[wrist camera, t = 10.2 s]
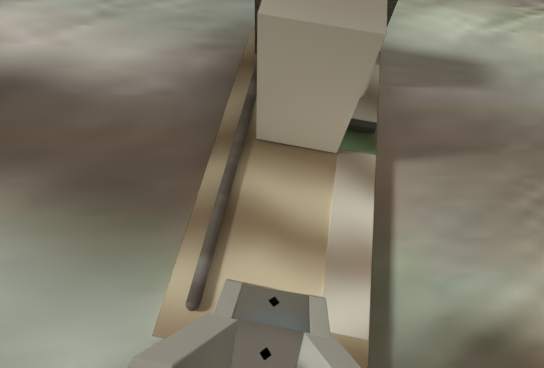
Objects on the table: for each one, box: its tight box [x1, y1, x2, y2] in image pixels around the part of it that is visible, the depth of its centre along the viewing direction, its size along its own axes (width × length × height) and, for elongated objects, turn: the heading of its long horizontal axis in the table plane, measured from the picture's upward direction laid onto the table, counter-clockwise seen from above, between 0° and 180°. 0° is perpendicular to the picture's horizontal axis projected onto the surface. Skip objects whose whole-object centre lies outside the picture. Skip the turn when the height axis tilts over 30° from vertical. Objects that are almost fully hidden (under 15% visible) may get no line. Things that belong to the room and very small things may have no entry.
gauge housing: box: [256, 0, 387, 153], centre depth 21 cm, size 7×9×10 cm
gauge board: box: [152, 30, 380, 368], centre depth 24 cm, size 26×12×2 cm, turn 170°
